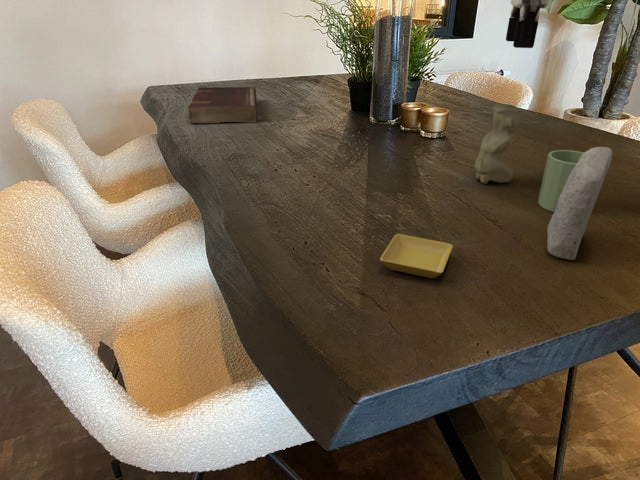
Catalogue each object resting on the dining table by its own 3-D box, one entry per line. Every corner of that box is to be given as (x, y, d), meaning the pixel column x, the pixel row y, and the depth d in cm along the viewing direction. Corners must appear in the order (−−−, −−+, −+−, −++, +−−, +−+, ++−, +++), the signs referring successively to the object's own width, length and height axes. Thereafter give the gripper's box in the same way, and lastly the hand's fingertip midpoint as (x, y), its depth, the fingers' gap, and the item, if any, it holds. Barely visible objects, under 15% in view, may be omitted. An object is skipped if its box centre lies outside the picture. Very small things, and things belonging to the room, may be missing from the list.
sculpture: (515, 185, 96) (530, 108, 89) (480, 187, 95) (493, 110, 88) (501, 175, 101) (514, 102, 94) (468, 177, 100) (479, 103, 93)
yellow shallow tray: (452, 256, 72) (454, 243, 71) (440, 286, 64) (442, 272, 64) (395, 245, 75) (396, 232, 74) (378, 272, 68) (378, 259, 67)
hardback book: (257, 122, 141) (256, 104, 138) (190, 124, 139) (188, 106, 137) (256, 101, 166) (255, 85, 164) (200, 102, 164) (198, 87, 162)
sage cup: (578, 198, 90) (591, 151, 86) (590, 215, 84) (604, 165, 79) (534, 195, 92) (544, 148, 88) (542, 212, 85) (553, 162, 81)
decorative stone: (583, 266, 69) (612, 164, 62) (537, 255, 71) (561, 157, 64) (589, 235, 77) (615, 143, 70) (548, 227, 80) (570, 137, 73)
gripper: (578, -76, 70) (551, 51, 78) (553, -66, 85) (532, 39, 93) (524, -75, 71) (502, 49, 79) (508, -66, 86) (491, 38, 94)
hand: (518, 44), depth 86 cm, fingers open, 9 cm apart
